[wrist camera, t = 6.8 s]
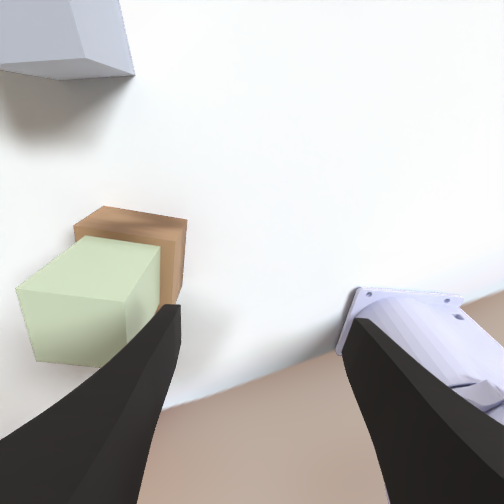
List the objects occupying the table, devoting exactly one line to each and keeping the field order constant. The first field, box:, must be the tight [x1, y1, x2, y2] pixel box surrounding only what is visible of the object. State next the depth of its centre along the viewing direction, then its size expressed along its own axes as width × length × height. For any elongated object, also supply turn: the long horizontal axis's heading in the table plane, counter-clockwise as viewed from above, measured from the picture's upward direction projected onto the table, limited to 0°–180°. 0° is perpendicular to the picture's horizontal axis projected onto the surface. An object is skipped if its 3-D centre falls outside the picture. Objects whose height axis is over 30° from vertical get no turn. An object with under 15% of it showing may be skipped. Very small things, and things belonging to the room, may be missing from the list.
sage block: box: [15, 235, 160, 368], centre depth 15 cm, size 4×4×6 cm
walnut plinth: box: [74, 206, 187, 313], centre depth 19 cm, size 6×6×4 cm
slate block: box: [0, 0, 135, 80], centre depth 12 cm, size 4×4×6 cm
